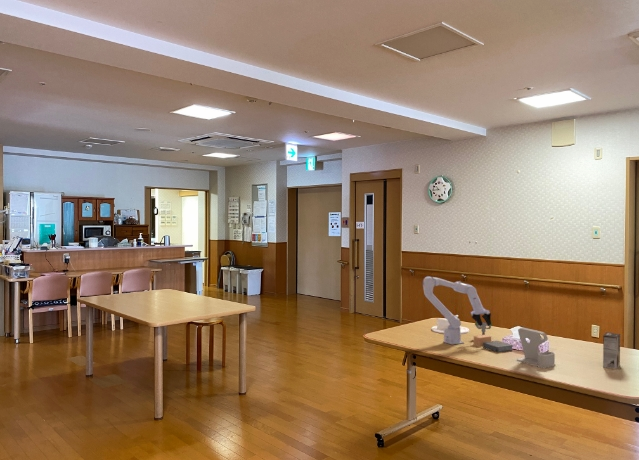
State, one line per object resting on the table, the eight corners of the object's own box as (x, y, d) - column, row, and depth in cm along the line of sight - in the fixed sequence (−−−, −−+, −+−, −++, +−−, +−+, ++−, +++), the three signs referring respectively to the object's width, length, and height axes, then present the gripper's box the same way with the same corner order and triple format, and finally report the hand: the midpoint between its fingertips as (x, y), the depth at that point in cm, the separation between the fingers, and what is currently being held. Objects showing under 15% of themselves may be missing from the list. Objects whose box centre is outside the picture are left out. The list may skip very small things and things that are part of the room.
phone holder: (557, 365, 254) (557, 330, 254) (544, 368, 250) (544, 332, 249) (528, 357, 270) (528, 324, 269) (515, 360, 265) (515, 326, 264)
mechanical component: (492, 339, 312) (492, 323, 312) (475, 339, 312) (475, 323, 312) (490, 337, 315) (490, 322, 315) (474, 337, 315) (474, 322, 315)
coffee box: (606, 363, 258) (606, 332, 258) (620, 365, 254) (620, 333, 254) (602, 367, 251) (602, 335, 251) (617, 369, 247) (617, 337, 247)
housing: (479, 346, 295) (479, 338, 294) (473, 344, 299) (473, 336, 299) (492, 344, 299) (492, 336, 299) (486, 342, 304) (486, 334, 303)
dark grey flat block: (498, 352, 280) (498, 347, 280) (482, 347, 291) (482, 342, 291) (512, 350, 285) (512, 345, 285) (497, 345, 296) (497, 340, 296)
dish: (473, 329, 342) (473, 312, 341) (463, 336, 320) (463, 319, 320) (438, 325, 355) (438, 309, 354) (426, 332, 334) (426, 315, 333)
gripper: (489, 301, 297) (498, 322, 296) (473, 302, 310) (481, 322, 309) (481, 305, 294) (490, 327, 293) (465, 307, 307) (473, 327, 306)
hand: (485, 325), depth 301 cm, fingers open, 7 cm apart
